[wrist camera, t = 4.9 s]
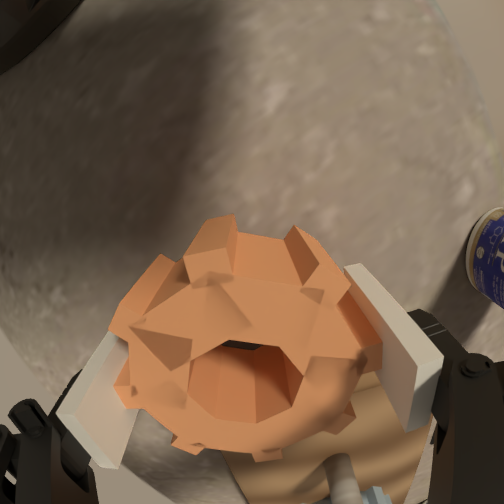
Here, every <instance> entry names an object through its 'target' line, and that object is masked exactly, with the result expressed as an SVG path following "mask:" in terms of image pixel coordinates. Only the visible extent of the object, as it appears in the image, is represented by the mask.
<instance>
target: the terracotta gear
mask: <svg viewBox="0 0 504 504" xmlns="http://www.w3.org/2000/svg"><path fill="white" fill-rule="evenodd" d="M350 286H351V283H350V282H349V281H348V279H347V278H346V277H345V275H344V274H343V273H342V272H341V270H340V269H339V268H338V266H337V265H336V264H335V263H334V261H333V260H332V259H331V257H330V256H329V255H328V254H327V252H326V251H325V250H324V249H323V247H322V246H321V245H320V244H319V242H318V241H317V240H316V239H315V238H313V237H312V236H310V235H309V234H307V233H306V232H304V231H303V230H301V229H300V228H298V227H297V226H295V225H293V227H292V228H291V230H290V231H289V233H288V234H287V236H286V237H285V238H284V240H281V239H275V238H270V237H264V236H258V235H253V234H247V233H241V232H238V230H237V225H236V221H235V217H234V214H230V215H226V216H221V217H217V218H212V219H208V220H206V221H205V222H204V224H203V225H202V227H201V228H200V230H199V232H198V233H197V235H196V236H195V238H194V239H193V241H192V243H191V244H190V246H189V247H188V249H187V251H186V252H185V254H184V255H183V258H181V259H180V260H179V261H177V262H176V263H175V262H174V261H172V260H171V259H169V258H167V257H166V256H164V255H162V254H161V253H160V254H159V256H158V257H157V258H156V259H155V260H154V262H153V263H152V264H151V265H150V266H149V268H148V269H147V270H146V271H145V272H144V274H143V275H142V276H141V277H140V278H139V280H138V281H137V282H136V283H135V284H134V286H133V287H132V288H131V289H130V291H129V292H128V293H127V294H126V296H125V297H124V298H123V299H122V301H121V302H120V303H119V306H118V308H117V310H116V312H115V314H114V316H113V319H112V321H111V323H110V325H109V328H108V330H109V331H110V332H112V333H113V334H115V335H117V336H118V337H120V338H122V339H123V340H125V341H126V342H128V348H129V356H128V358H127V360H126V362H125V364H124V366H123V368H122V370H121V372H120V374H119V376H118V377H117V379H116V381H115V383H114V385H113V387H114V389H115V391H116V392H117V394H118V396H119V398H120V399H121V401H122V403H123V404H124V406H125V407H126V409H143V408H144V409H145V410H146V411H147V412H148V413H149V414H150V415H152V416H153V417H154V418H155V419H156V420H158V421H159V422H160V423H161V424H162V425H164V426H165V427H166V428H167V429H169V430H170V431H171V432H172V433H173V437H172V441H171V445H172V446H174V447H176V448H179V449H181V450H184V451H186V452H189V453H191V454H194V455H197V454H198V453H199V452H200V451H201V450H203V449H204V448H210V449H217V450H225V451H233V452H243V453H252V456H253V458H254V460H255V462H263V461H270V460H277V459H283V455H282V448H285V447H287V446H289V445H292V444H294V443H297V442H299V441H301V440H303V439H306V438H308V437H310V436H312V435H315V434H317V433H319V432H321V431H325V432H328V433H331V434H334V435H337V434H339V433H340V432H341V431H342V430H343V429H345V428H346V427H347V426H348V425H349V424H350V423H351V422H353V421H354V420H355V419H356V418H357V417H356V415H355V412H354V409H353V407H352V404H351V401H350V398H351V396H352V394H353V392H354V390H355V388H356V386H357V384H358V382H359V379H360V377H361V375H363V374H366V373H370V372H373V371H377V370H380V369H382V355H383V342H382V340H381V339H380V337H379V336H378V334H377V333H376V331H375V330H374V328H373V327H372V325H371V324H370V322H369V321H368V319H367V318H366V316H365V315H364V313H363V312H362V310H361V309H360V307H359V306H358V305H357V303H356V302H355V300H354V299H353V297H352V296H351V294H350V293H349V292H348V289H349V287H350ZM227 340H236V341H242V342H249V343H256V344H264V345H263V346H261V347H259V348H257V349H256V350H254V351H253V350H246V349H239V348H232V347H226V346H222V343H224V342H225V341H227Z"/></svg>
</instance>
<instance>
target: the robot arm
mask: <svg viewBox="0 0 504 504" xmlns="http://www.w3.org/2000/svg"><path fill="white" fill-rule="evenodd" d="M79 2H80V0H0V74H2V73H3V72H5V71H6V70H8V69H9V68H11V67H12V66H14V65H15V64H16V63H18V62H19V61H20V60H21V59H23V58H24V57H25V56H26V55H27V54H29V53H30V52H31V51H32V50H33V49H34V48H35V47H37V46H38V45H39V44H40V43H41V42H42V41H43V40H44V39H45V38H46V37H47V36H48V35H49V34H50V33H51V32H52V31H53V30H54V29H55V28H56V27H57V26H58V25H59V24H60V23H61V22H62V21H63V20H64V19H65V17H66V16H67V15H68V14H69V13H70V12H71V11H72V10H73V9H74V7H75V6H76V5H77V4H78V3H79ZM343 268H344V275H345V277H346V278H347V279H348V281H349V282H350V283H351V286H350V287H349V289H348V292H349V293H350V294H351V296H352V297H353V299H354V300H355V302H356V303H357V305H358V306H359V307H360V309H361V310H362V312H363V313H364V315H365V316H366V318H367V319H368V321H369V322H370V324H371V325H372V327H373V328H374V330H375V331H376V333H377V334H378V336H379V337H380V339H381V340H382V342H383V355H382V369H380V370H377V371H375V373H376V375H377V377H378V379H379V381H380V383H381V385H382V387H383V389H384V391H385V393H386V395H387V397H388V399H389V400H390V402H391V404H392V406H393V408H394V410H395V413H396V415H397V417H398V419H399V421H400V423H401V425H402V427H403V429H404V431H405V433H407V432H410V431H413V430H415V429H418V428H420V427H423V426H425V425H428V423H429V419H430V416H431V412H432V414H433V416H434V417H435V419H436V421H437V424H436V427H435V430H434V433H433V436H432V439H431V442H430V444H434V450H433V462H432V472H431V480H430V488H429V495H428V501H427V504H504V361H501V362H495V363H493V361H492V360H491V359H489V358H488V357H487V356H484V355H482V354H477V353H468V352H467V351H466V350H465V349H464V348H463V347H462V346H461V345H460V344H459V343H458V342H457V340H456V339H455V338H454V337H453V336H452V335H451V334H450V333H449V332H448V331H446V330H445V328H444V327H443V326H442V325H441V324H439V322H438V321H437V320H436V319H435V318H434V317H433V316H432V315H431V314H430V313H427V312H425V311H423V310H421V309H417V310H414V311H411V312H407V313H406V312H405V310H404V309H403V308H402V307H401V306H400V305H399V304H398V303H397V301H396V300H395V299H394V298H393V297H392V296H391V295H390V294H389V293H388V292H387V291H386V289H385V288H384V287H383V286H382V285H381V284H380V283H379V282H378V281H377V280H376V279H375V278H374V277H373V276H372V274H371V273H370V272H369V271H368V270H367V269H366V268H365V267H364V266H363V265H362V264H361V263H358V264H354V265H349V266H345V267H343ZM128 356H129V348H128V342H126V341H125V340H123V339H122V338H120V337H118V336H117V335H115V334H113V333H112V332H110V331H108V332H107V334H106V335H105V337H104V338H103V340H102V341H101V343H100V344H99V346H98V347H97V349H96V350H95V352H94V353H93V355H92V356H91V358H90V359H89V361H88V362H87V364H86V365H85V367H84V368H83V369H81V370H80V371H79V372H78V373H77V374H76V375H75V376H73V377H72V379H71V380H70V382H69V383H68V385H67V388H65V390H64V391H63V393H62V394H63V395H61V396H60V397H59V399H58V401H57V402H56V404H55V406H54V407H53V409H52V410H51V412H50V414H49V415H48V416H47V415H46V414H45V412H44V411H43V409H42V408H41V407H40V405H39V404H38V403H37V401H36V400H34V399H25V400H22V401H20V402H19V403H17V404H16V405H14V407H13V408H12V409H11V410H10V412H9V414H8V417H9V418H10V419H11V421H12V422H13V423H14V425H15V426H16V427H17V428H18V430H19V431H20V432H21V433H20V434H12V433H11V432H10V431H9V429H8V428H7V427H6V426H5V425H2V424H0V504H99V501H98V496H97V489H96V483H95V476H94V472H93V470H92V468H91V467H90V466H89V465H88V464H89V462H90V459H91V458H92V459H93V460H94V461H95V462H96V463H97V464H98V466H99V467H101V468H109V469H119V467H120V463H121V460H122V457H123V454H124V452H125V449H126V446H127V443H128V440H129V437H130V434H131V431H132V428H133V425H134V423H135V420H136V417H137V414H138V411H139V409H126V407H125V406H124V404H123V403H122V401H121V399H120V398H119V396H118V394H117V392H116V391H115V389H114V387H113V385H114V383H115V381H116V379H117V377H118V376H119V374H120V372H121V370H122V368H123V366H124V364H125V362H126V360H127V358H128ZM6 470H7V471H8V472H9V473H10V474H11V475H12V476H13V477H14V478H15V479H16V480H17V481H16V484H15V485H14V484H12V483H11V482H10V481H9V480H8V479H7V478H6V477H5V473H6Z"/></svg>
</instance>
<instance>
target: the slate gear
mask: <svg viewBox="0 0 504 504" xmlns="http://www.w3.org/2000/svg"><path fill="white" fill-rule="evenodd" d="M360 494H361V497H362V500H363V504H392V502H391V499H390V496H389V494H387V495H384V494H383V491H382V488H381V487H376V486H372V487H370V488H369V489H367V490H366V491H360ZM301 504H304V503H301ZM312 504H332V500H331V495H330V497H328V498H325V499H322V500H319V501H316V502H314V503H312Z"/></svg>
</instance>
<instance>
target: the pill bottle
mask: <svg viewBox="0 0 504 504" xmlns="http://www.w3.org/2000/svg"><path fill="white" fill-rule="evenodd" d="M466 271H467V275H468V278H469V280H470V282H471V284H472V285H473V287H474V288H475V289H477V290H478V291H479V292H481V293H482V294H483V295H485V296H486V297H487V298H489V299H490V300H492V301H493V302H495V303H496V304H497V305H499V306H500V307H501V308H503V309H504V208H494V209H492V210H490V211H488V212H487V213H486V214H484V215H483V216H482V217H481V218H480V220H479V221H478V222H477V224H476V225H475V227H474V229H473V231H472V233H471V236H470V239H469V242H468V246H467V251H466Z"/></svg>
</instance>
